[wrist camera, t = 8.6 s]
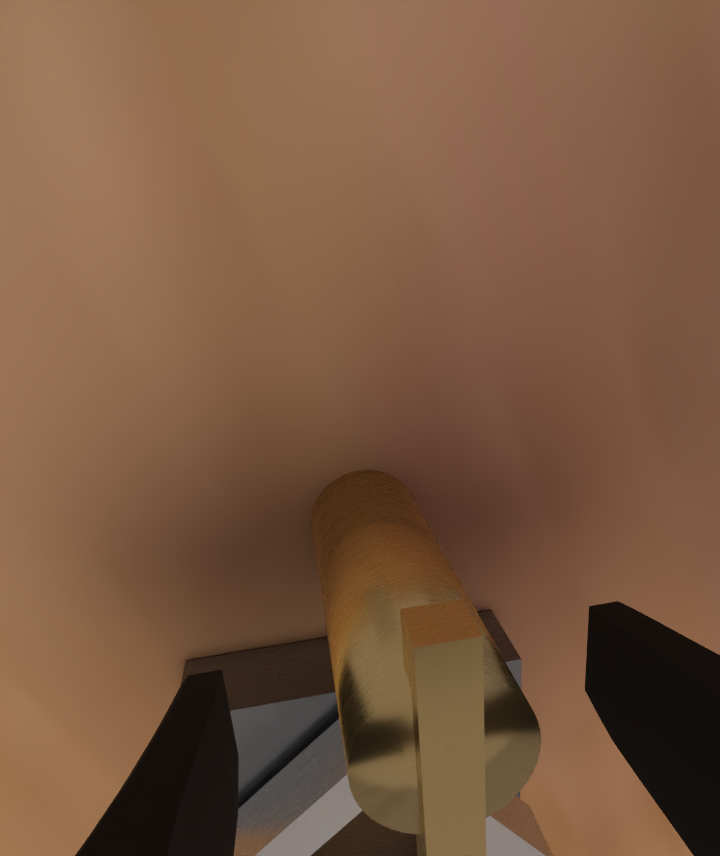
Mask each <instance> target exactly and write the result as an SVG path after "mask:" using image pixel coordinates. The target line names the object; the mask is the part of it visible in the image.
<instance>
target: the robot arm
mask: <svg viewBox="0 0 720 856" xmlns="http://www.w3.org/2000/svg"><path fill="white" fill-rule="evenodd" d="M585 691H586V693H587V694H588V696H589V698H590V700H591V702H592V704H593V706H594V708H595V710H596V712H597V713H598V715H599V717H600V719H601V721H602V723H603V724H604V726H605V728H606V730H607V731H608V733H609V735H610V737H611V739H612V740H613V742H614V743H615V745H616V746H617V748H618V749H619V750H620V752H621V753H622V755H623V756H624V758H625V759H626V761H627V762H628V763H629V765H630V766H631V768H632V769H633V771H634V772H635V773H636V775H637V776H638V778H639V779H640V781H641V782H642V783H643V785H644V786H645V788H646V789H647V790H648V792H649V793H650V795H651V796H652V797H653V799H654V800H655V802H656V803H657V805H658V806H659V807H660V809H661V810H662V812H663V813H664V814H665V816H666V817H667V819H668V820H669V821H670V823H671V824H672V826H673V827H674V828H675V830H676V831H677V833H678V834H679V835H680V837H681V838H682V840H683V841H684V843H685V844H686V845H687V847H688V848H689V850H690V851H691V852H692V854H693V855H694V856H720V655H718V654H716V653H714V652H713V651H711V650H709V649H707V648H705V647H703V646H701V645H699V644H698V643H696V642H694V641H692V640H690V639H688V638H687V637H685V636H683V635H681V634H679V633H677V632H676V631H674V630H672V629H670V628H668V627H666V626H664V625H663V624H661V623H659V622H657V621H655V620H653V619H652V618H650V617H648V616H646V615H644V614H642V613H640V612H638V611H636V610H634V609H633V608H631V607H629V606H626V605H624V604H622V603H620V602H618V601H617V602H612V603H606V604H600V605H594V606H589V621H588V640H587V659H586V678H585ZM238 763H239V755H238V750H237V745H236V740H235V735H234V729H233V724H232V719H231V714H230V708H229V703H228V698H227V693H226V688H225V682H224V677H223V672H222V670H216V671H210V672H205V673H199V674H193V675H188V676H187V677H186V679H185V680H184V681H183V683H182V685H181V686H180V688H179V690H178V692H177V694H176V696H175V698H174V700H173V702H172V704H171V705H170V707H169V709H168V711H167V713H166V714H165V716H164V718H163V720H162V722H161V723H160V725H159V727H158V729H157V730H156V732H155V734H154V736H153V737H152V739H151V741H150V743H149V744H148V746H147V747H146V749H145V751H144V752H143V754H142V756H141V757H140V759H139V761H138V762H137V764H136V766H135V767H134V769H133V770H132V772H131V774H130V775H129V777H128V779H127V780H126V782H125V783H124V785H123V786H122V788H121V790H120V791H119V793H118V794H117V796H116V797H115V799H114V800H113V801H112V803H111V804H110V806H109V807H108V809H107V810H106V812H105V813H104V815H103V816H102V818H101V819H100V821H99V822H98V824H97V825H96V827H95V828H94V830H93V831H92V833H91V834H90V836H89V837H88V838H87V840H86V841H85V843H84V844H83V845H82V847H81V848H80V850H79V851H78V852H77V854H76V855H75V856H234V848H235V839H236V829H237V820H238Z"/></svg>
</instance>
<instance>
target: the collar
mask: <svg viewBox="0 0 720 856" xmlns="http://www.w3.org/2000/svg"><path fill="white" fill-rule="evenodd" d="M361 811H363V810H362V809H361V808H360V807H359V806H358V804H357V802H356V801H355V799H354V797H353V795H352V792H351V790H350V786H349V781H348V775H347V768H346V761H345V754H344V747H343V740H342V733H341V726H340V719H338V720H337V721H336V722H334V723H333V724H332V725H331V726H330V727H329V728H328V729H327V730H326V731H324V732H323V733H322V734H321V735H320V736H319V737H318V738H317V739H316V740H314V741H313V742H312V743H311V744H310V745H309V746H308V747H307V748H306V749H304V750H303V751H302V752H301V753H300V754H299V755H298V756H297V757H296V758H294V759H293V760H292V761H291V762H290V763H289V764H288V765H287V766H286V767H284V768H283V769H282V770H281V771H280V772H279V773H278V774H277V775H275V776H274V777H273V778H272V779H271V780H270V781H269V782H268V783H267V784H265V785H264V786H263V787H262V788H261V789H260V790H259V791H258V792H257V793H255V794H254V795H253V796H252V797H251V798H250V799H249V800H248V801H247V802H245V803H244V804H243V805H242V806H241V807H240V808H239V809H238V820H237V829H236V839H235V848H234V856H311V855H312V854H313V853H314V852H315V851H316V850H318V849H319V848H320V847H321V846H322V845H323V844H325V843H326V842H327V841H328V840H329V839H330V838H331V837H333V836H334V835H335V834H336V833H337V832H338V831H340V830H341V829H342V828H343V827H344V826H345V825H346V824H348V823H349V822H350V821H351V820H352V819H353V818H354V817H356V816H357V815H358V814H359V813H360V812H361ZM486 856H553V855H552V853H551V851H550V848H549V846H548V844H547V842H546V840H545V838H544V836H543V833H542V831H541V829H540V827H539V825H538V823H537V820H536V818H535V816H534V814H533V812H532V810H531V808H530V806H529V805H528V804H526V803H525V802H524V801H522V800H521V799H520V798H518V797H517V796H515V797H514V798H513V799H512V800H511V801H510V802H508V803H507V804H506V805H505V806H504V807H502V808H501V809H500V810H498V811H497V812H496V813H494V814H492V815H491V816H489V817H487V818H486Z"/></svg>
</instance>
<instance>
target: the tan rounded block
mask: <svg viewBox="0 0 720 856" xmlns="http://www.w3.org/2000/svg"><path fill="white" fill-rule="evenodd" d="M311 521H312V532H313V539H314V546H315V553H316V560H317V567H318V574H319V581H320V588H321V594H322V601H323V608H324V615H325V622H326V629H327V636H328V643H329V650H330V657H331V664H332V671H333V678H334V685H335V692H336V699H337V706H338V712H339V719H340V726H341V733H342V740H343V747H344V754H345V761H346V768H347V775H348V781H349V786H350V790H351V792H352V795H353V797H354V799H355V801H356V802H357V804H358V806H359V807H360V808H361V809H362V810H363V811H364V813H365V814H366V815H368V816H369V817H370V818H371V819H373V820H374V821H376V822H377V823H379V824H381V825H383V826H385V827H387V828H390V829H392V830H396V831H399V832H403V833H410V834H415V835H416V850H417V855H418V856H486V818H487V817H489V816H491V815H492V814H494V813H496V812H497V811H498V810H500V809H501V808H502V807H504V806H505V805H506V804H507V803H508V802H510V801H511V800H512V799H513V798H514V797H515V796H516V795H517V794H518V793H519V791H520V790H521V789H522V788H523V786H524V785H525V784H526V782H527V781H528V779H529V778H530V776H531V774H532V772H533V770H534V768H535V765H536V763H537V760H538V756H539V752H540V744H541V736H540V728H539V724H538V721H537V718H536V716H535V714H534V712H533V710H532V708H531V706H530V705H529V703H528V701H527V699H526V698H525V696H524V694H523V692H522V691H521V689H520V687H519V685H518V684H517V682H516V680H515V678H514V676H513V675H512V673H511V671H510V669H509V668H508V666H507V664H506V662H505V661H504V659H503V657H502V655H501V654H500V652H499V650H498V648H497V646H496V645H495V643H494V641H493V639H492V638H491V636H490V634H489V632H488V631H487V629H486V627H485V625H484V624H483V622H482V620H481V618H480V617H479V615H478V613H477V611H476V609H475V608H474V606H473V604H472V602H471V601H470V599H469V597H468V595H467V594H466V592H465V590H464V588H463V587H462V585H461V583H460V581H459V579H458V578H457V576H456V574H455V572H454V571H453V569H452V567H451V565H450V564H449V562H448V560H447V558H446V557H445V555H444V553H443V551H442V550H441V548H440V546H439V544H438V542H437V541H436V539H435V537H434V535H433V534H432V532H431V530H430V528H429V527H428V525H427V523H426V521H425V520H424V518H423V516H422V514H421V512H420V511H419V509H418V507H417V505H416V504H415V502H414V500H413V498H412V497H411V495H410V493H409V492H408V490H407V489H406V488H405V486H404V485H403V484H402V483H401V482H399V481H398V480H397V479H395V478H394V477H392V476H390V475H388V474H385V473H382V472H377V471H368V470H366V471H357V472H352V473H349V474H346V475H344V476H342V477H340V478H338V479H336V480H335V481H333V482H332V483H331V484H330V485H328V486H327V487H326V488H325V489H324V490H323V492H322V493H321V494H320V496H319V498H318V499H317V501H316V503H315V506H314V509H313V513H312V520H311Z"/></svg>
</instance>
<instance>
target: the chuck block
mask: <svg viewBox="0 0 720 856" xmlns="http://www.w3.org/2000/svg"><path fill="white" fill-rule="evenodd" d="M477 613H478V615H479V617H480V618H481V620H482V622H483V624H484V625H485V627H486V629H487V631H488V632H489V634H490V636H491V638H492V639H493V641H494V643H495V645H496V646H497V648H498V650H499V652H500V654H501V655H502V657H503V659H504V661H505V662H506V664H507V666H508V668H509V669H510V671H511V673H512V675H513V676H514V678H515V680H516V682H517V684H518V685H519V687H520V689H521V658H520V656H519V655H518V653H517V651H516V650H515V648H514V646H513V645H512V643H511V642H510V640H509V638H508V637H507V635H506V633H505V632H504V630H503V628H502V627H501V625H500V624H499V622H498V620H497V619H496V617H495V615H494V614H493V612H492V610H489V611H483V612H477ZM216 670H222V672H223V677H224V682H225V688H226V693H227V698H228V703H229V708H230V714H231V719H232V724H233V729H234V735H235V740H236V745H237V750H238V755H239V763H238V809H239V808H240V807H241V806H242V805H243V804H244V803H245V802H247V801H248V800H249V799H250V798H251V797H252V796H253V795H254V794H255V793H257V792H258V791H259V790H260V789H261V788H262V787H263V786H264V785H265V784H267V783H268V782H269V781H270V780H271V779H272V778H273V777H274V776H275V775H277V774H278V773H279V772H280V771H281V770H282V769H283V768H284V767H286V766H287V765H288V764H289V763H290V762H291V761H292V760H293V759H294V758H296V757H297V756H298V755H299V754H300V753H301V752H302V751H303V750H304V749H306V748H307V747H308V746H309V745H310V744H311V743H312V742H313V741H314V740H316V739H317V738H318V737H319V736H320V735H321V734H322V733H323V732H324V731H326V730H327V729H328V728H329V727H330V726H331V725H332V724H333V723H334V722H336V721H337V720H338V719H339V712H338V706H337V699H336V692H335V685H334V678H333V671H332V664H331V657H330V650H329V643H328V637H327V638H321V639H315V640H309V641H303V642H297V643H291V644H284V645H278V646H272V647H266V648H260V649H254V650H248V651H242V652H236V653H230V654H224V655H218V656H212V657H206V658H200V659H194V660H188V661H186V663H185V668H184V673H183V677H182V682H181V685H182V683H183V681H184V680H185V679H186V677H187V676H188V675H193V674H199V673H205V672H210V671H216ZM516 796H517V797H518V798H520V791H519V793H518V794H517V795H516ZM311 856H418V855H417V850H416V835H415V834H410V833H403V832H399V831H396V830H392V829H390V828H387V827H385V826H383V825H381V824H379V823H377V822H376V821H374V820H373V819H371V818H370V817H369V816H368V815H366V814H365V813H364V811H361V812H360V813H359V814H358V815H357V816H356V817H354V818H353V819H352V820H351V821H350V822H349V823H348V824H346V825H345V826H344V827H343V828H342V829H341V830H340V831H338V832H337V833H336V834H335V835H334V836H333V837H331V838H330V839H329V840H328V841H327V842H326V843H325V844H323V845H322V846H321V847H320V848H319V849H318V850H316V851H315V852H314V853H313V854H312V855H311Z"/></svg>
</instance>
